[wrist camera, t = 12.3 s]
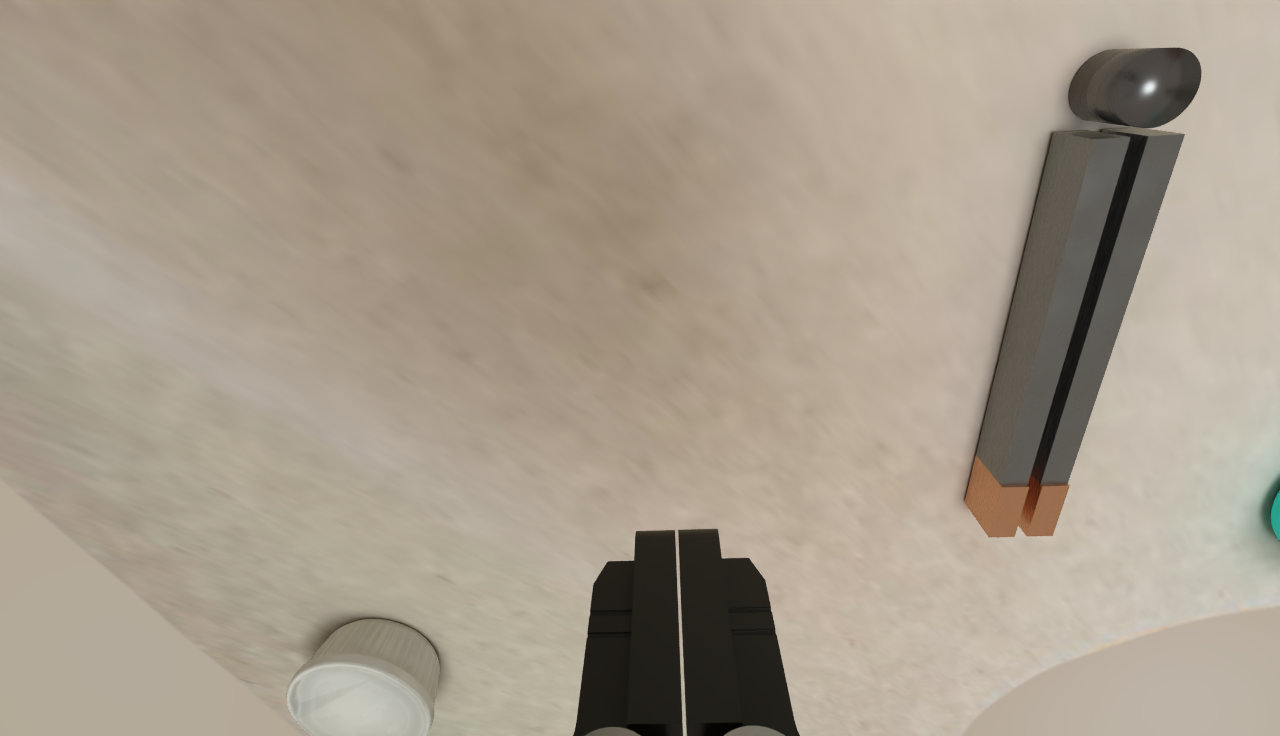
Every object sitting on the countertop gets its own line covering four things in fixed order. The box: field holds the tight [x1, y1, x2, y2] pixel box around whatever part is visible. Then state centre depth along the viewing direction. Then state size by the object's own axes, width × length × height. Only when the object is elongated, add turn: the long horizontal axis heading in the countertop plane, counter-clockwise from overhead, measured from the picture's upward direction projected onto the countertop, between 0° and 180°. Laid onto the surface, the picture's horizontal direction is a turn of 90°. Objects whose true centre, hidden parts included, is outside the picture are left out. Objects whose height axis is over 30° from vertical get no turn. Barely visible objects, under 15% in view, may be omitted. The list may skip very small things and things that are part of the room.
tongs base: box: [1018, 48, 1201, 536], centre depth 33 cm, size 28×4×4 cm, turn 3°
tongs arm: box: [965, 130, 1130, 537], centre depth 34 cm, size 24×2×3 cm, turn 3°
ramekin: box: [286, 619, 440, 736], centre depth 48 cm, size 11×11×5 cm
